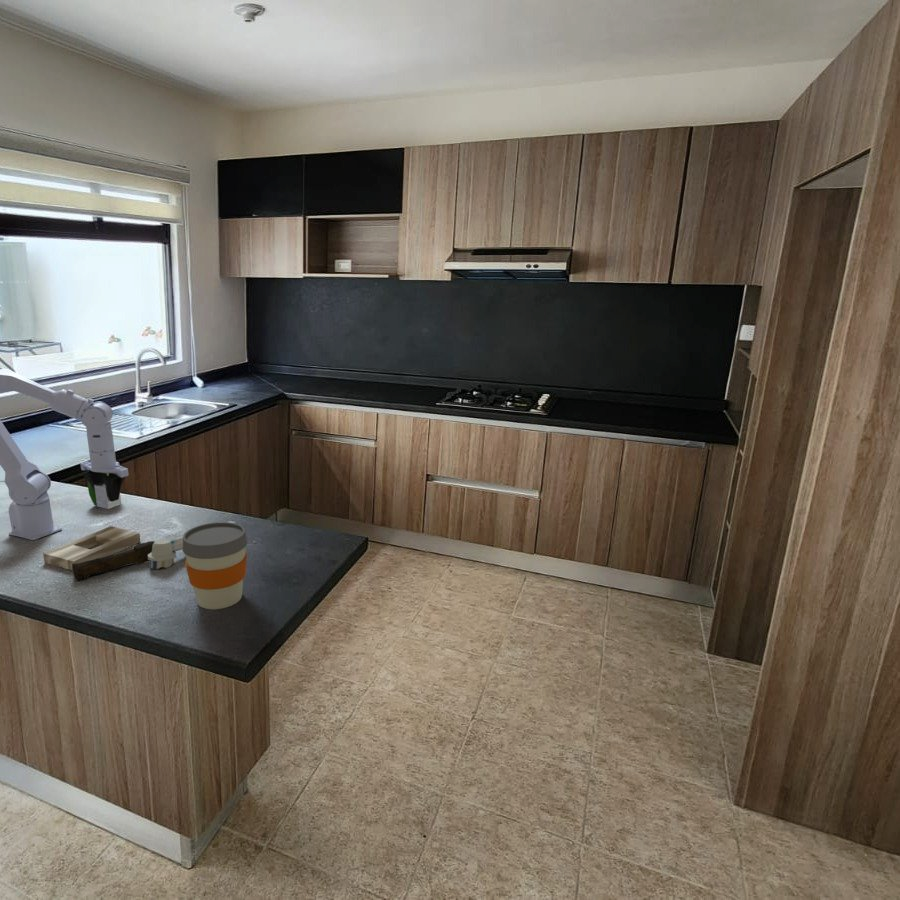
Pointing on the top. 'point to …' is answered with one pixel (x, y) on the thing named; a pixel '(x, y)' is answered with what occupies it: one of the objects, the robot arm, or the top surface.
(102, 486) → the pale grey block
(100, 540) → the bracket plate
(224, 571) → the reusable coffee cup
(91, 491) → the bell pepper
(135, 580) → the top surface
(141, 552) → the dark brown wood piece
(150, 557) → the white elongated piece
